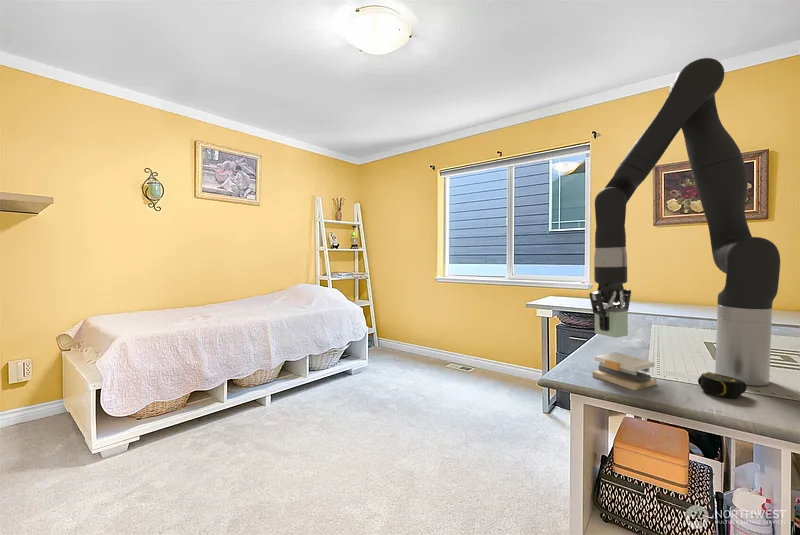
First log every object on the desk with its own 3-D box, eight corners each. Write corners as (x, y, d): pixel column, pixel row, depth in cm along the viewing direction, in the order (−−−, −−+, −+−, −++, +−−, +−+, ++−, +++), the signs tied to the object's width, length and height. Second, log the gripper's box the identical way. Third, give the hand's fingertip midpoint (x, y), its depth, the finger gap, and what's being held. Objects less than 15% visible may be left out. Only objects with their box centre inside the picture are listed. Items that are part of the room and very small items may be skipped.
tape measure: (747, 396, 75) (748, 379, 75) (733, 403, 72) (733, 384, 72) (707, 386, 81) (708, 369, 81) (692, 391, 78) (693, 374, 78)
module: (606, 331, 100) (605, 306, 99) (627, 335, 94) (627, 308, 94) (594, 333, 98) (594, 307, 97) (616, 337, 92) (616, 310, 92)
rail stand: (613, 371, 91) (613, 361, 91) (656, 384, 82) (656, 373, 82) (592, 376, 87) (592, 366, 87) (634, 390, 78) (634, 379, 78)
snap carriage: (614, 360, 90) (615, 352, 90) (654, 371, 82) (654, 362, 82) (592, 365, 87) (592, 356, 87) (631, 377, 78) (631, 367, 78)
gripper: (606, 266, 89) (606, 335, 89) (641, 264, 95) (642, 328, 95) (579, 265, 96) (580, 330, 96) (614, 263, 102) (614, 324, 102)
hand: (611, 329), depth 96 cm, fingers closed on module, 4 cm apart
